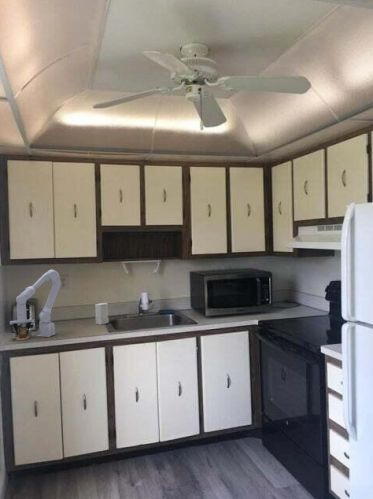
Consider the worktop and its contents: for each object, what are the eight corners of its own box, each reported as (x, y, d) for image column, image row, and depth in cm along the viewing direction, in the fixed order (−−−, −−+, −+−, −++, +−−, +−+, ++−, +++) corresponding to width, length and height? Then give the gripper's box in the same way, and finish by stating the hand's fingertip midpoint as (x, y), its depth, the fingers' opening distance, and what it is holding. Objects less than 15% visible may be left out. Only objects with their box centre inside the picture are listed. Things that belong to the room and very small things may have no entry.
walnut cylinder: (28, 336, 267) (28, 327, 266) (23, 338, 262) (23, 329, 262) (22, 336, 268) (22, 327, 268) (17, 338, 264) (16, 329, 263)
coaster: (32, 337, 268) (31, 336, 268) (23, 340, 260) (23, 339, 260) (22, 336, 270) (22, 335, 270) (13, 339, 262) (13, 338, 262)
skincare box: (101, 324, 298) (100, 304, 297) (95, 324, 301) (94, 304, 301) (109, 322, 305) (108, 302, 305) (103, 321, 308) (102, 302, 308)
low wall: (31, 334, 274) (31, 330, 273) (31, 335, 273) (31, 330, 272) (15, 336, 270) (15, 331, 270) (15, 336, 270) (15, 332, 269)
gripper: (33, 311, 270) (34, 331, 271) (10, 313, 266) (11, 334, 267) (33, 313, 264) (34, 334, 264) (9, 315, 259) (10, 336, 260)
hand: (22, 334), depth 265 cm, fingers open, 6 cm apart
